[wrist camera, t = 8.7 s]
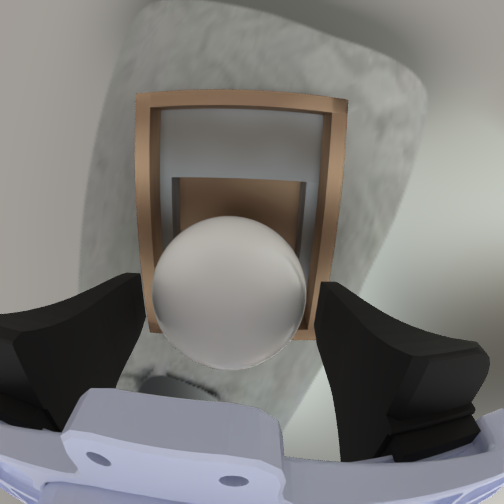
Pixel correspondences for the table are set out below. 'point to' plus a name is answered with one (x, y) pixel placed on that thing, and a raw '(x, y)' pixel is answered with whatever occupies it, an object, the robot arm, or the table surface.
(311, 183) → the socket box
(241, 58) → the table surface
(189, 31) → the table surface
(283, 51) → the table surface
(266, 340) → the lightbulb
